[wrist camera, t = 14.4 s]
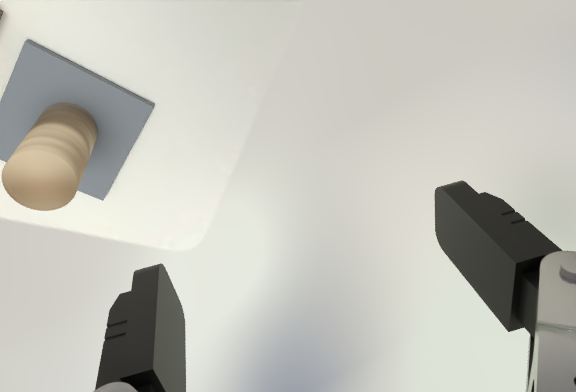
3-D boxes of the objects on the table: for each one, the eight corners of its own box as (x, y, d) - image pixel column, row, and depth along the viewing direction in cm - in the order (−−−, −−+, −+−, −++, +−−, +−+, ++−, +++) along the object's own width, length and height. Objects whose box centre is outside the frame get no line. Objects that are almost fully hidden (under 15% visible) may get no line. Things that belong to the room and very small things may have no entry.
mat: (-17, 147, 37) (-21, 151, 37) (28, 39, 34) (24, 41, 33) (104, 196, 42) (103, 200, 41) (154, 104, 38) (153, 107, 38)
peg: (31, 105, 36) (-9, 154, 28) (91, 100, 36) (67, 147, 29) (47, 156, 38) (14, 214, 30) (102, 151, 39) (84, 206, 31)
